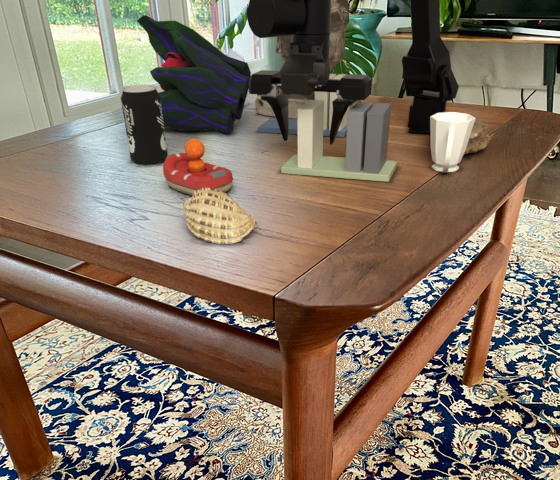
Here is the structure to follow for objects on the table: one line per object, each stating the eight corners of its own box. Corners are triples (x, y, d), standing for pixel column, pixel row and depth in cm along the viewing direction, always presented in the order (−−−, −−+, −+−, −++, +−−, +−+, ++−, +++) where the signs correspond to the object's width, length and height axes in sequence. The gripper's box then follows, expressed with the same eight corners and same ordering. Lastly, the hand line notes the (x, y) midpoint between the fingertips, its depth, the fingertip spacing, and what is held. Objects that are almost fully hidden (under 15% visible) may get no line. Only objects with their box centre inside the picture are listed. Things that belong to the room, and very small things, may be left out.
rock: (489, 162, 99) (495, 131, 96) (425, 159, 102) (429, 128, 99) (486, 141, 110) (491, 113, 107) (428, 139, 112) (431, 111, 109)
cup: (466, 163, 99) (475, 112, 94) (467, 181, 91) (476, 127, 87) (424, 161, 101) (430, 111, 96) (422, 179, 93) (428, 125, 88)
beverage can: (160, 167, 101) (150, 91, 94) (125, 165, 102) (112, 90, 95) (173, 156, 106) (164, 84, 99) (139, 155, 107) (128, 83, 100)
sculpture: (254, 114, 132) (247, -49, 114) (294, 101, 143) (293, -50, 125) (323, 124, 123) (328, -51, 106) (361, 109, 134) (370, -51, 117)
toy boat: (193, 176, 96) (188, 127, 92) (241, 191, 90) (238, 139, 85) (156, 187, 92) (148, 137, 87) (204, 204, 85) (199, 151, 81)
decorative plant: (221, 185, 121) (89, 138, 123) (264, 108, 132) (144, 66, 134) (223, 99, 102) (68, 45, 104) (274, 19, 114) (133, -29, 116)
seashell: (248, 241, 81) (181, 210, 80) (265, 203, 78) (196, 170, 76) (240, 265, 75) (167, 232, 73) (258, 225, 72) (182, 189, 70)
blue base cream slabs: (352, 127, 121) (355, 74, 115) (343, 137, 114) (346, 81, 109) (270, 122, 125) (269, 71, 119) (258, 131, 119) (256, 78, 113)
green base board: (396, 167, 98) (402, 103, 92) (388, 182, 92) (394, 114, 86) (294, 159, 103) (294, 98, 97) (280, 173, 97) (279, 108, 91)
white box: (322, 156, 100) (324, 100, 95) (312, 168, 95) (312, 109, 90) (308, 155, 101) (309, 99, 96) (297, 167, 96) (297, 108, 90)
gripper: (233, 36, 83) (238, 149, 92) (361, 40, 78) (353, 159, 87) (259, 30, 92) (261, 134, 101) (376, 33, 87) (367, 142, 96)
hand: (308, 142), depth 96 cm, fingers open, 8 cm apart
